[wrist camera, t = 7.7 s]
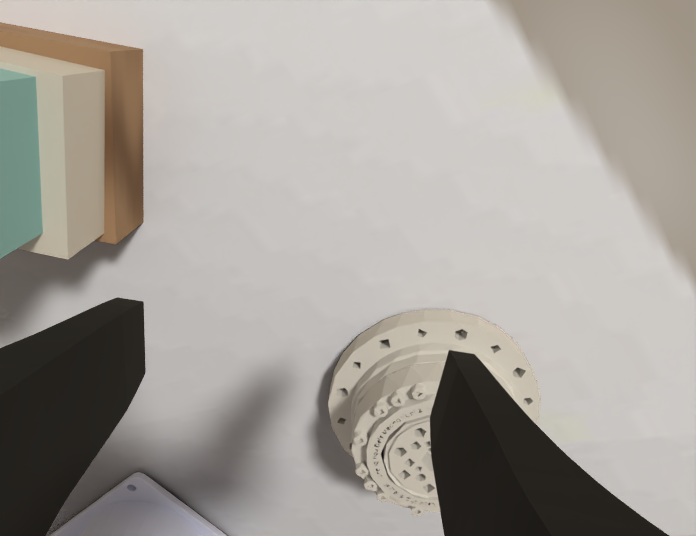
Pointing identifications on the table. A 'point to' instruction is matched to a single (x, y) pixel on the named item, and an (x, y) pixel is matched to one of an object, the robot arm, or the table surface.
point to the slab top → (66, 150)
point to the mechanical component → (413, 396)
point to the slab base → (119, 116)
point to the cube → (19, 162)
